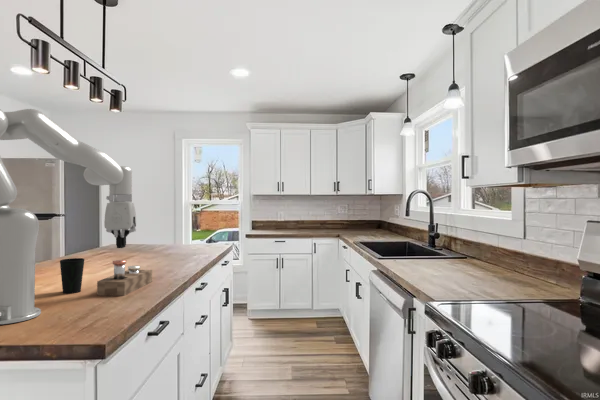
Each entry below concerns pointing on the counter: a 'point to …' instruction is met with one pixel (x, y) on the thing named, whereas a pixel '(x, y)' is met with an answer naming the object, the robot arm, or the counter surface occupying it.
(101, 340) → the counter surface
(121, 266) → the plug red
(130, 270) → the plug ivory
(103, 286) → the socket block
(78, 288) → the cup
